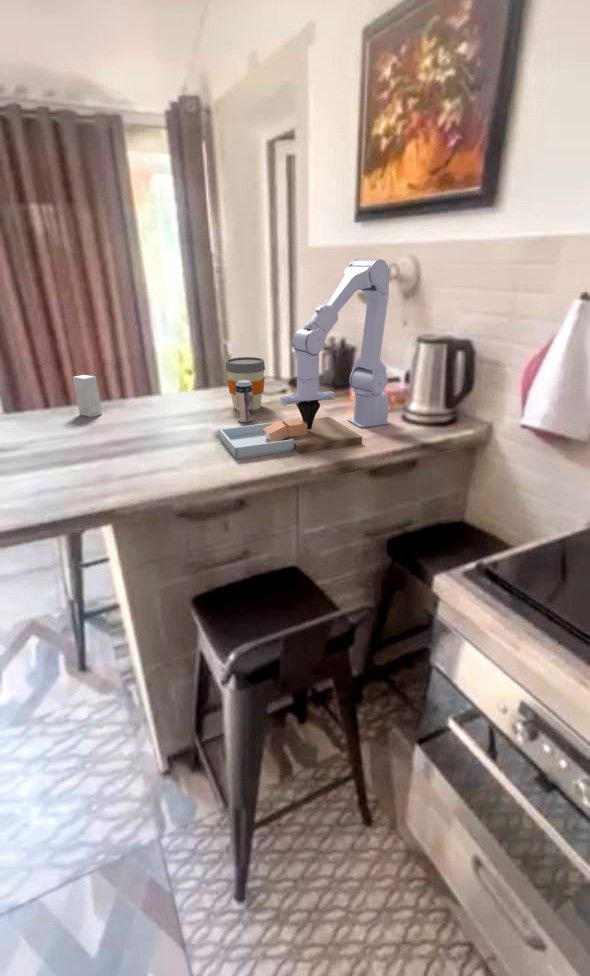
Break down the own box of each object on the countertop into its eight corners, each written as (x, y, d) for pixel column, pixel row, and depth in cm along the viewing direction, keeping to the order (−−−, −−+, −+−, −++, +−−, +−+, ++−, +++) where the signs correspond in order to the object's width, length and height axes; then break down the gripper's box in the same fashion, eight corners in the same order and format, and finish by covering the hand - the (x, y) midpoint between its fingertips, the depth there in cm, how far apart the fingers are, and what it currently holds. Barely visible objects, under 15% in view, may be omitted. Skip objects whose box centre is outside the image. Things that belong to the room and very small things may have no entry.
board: (329, 423, 151) (329, 416, 150) (361, 444, 134) (362, 436, 134) (271, 430, 145) (271, 423, 145) (298, 453, 128) (297, 446, 128)
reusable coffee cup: (265, 412, 163) (263, 364, 157) (225, 412, 163) (222, 364, 157) (267, 401, 174) (266, 356, 168) (230, 402, 174) (227, 357, 168)
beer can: (251, 423, 152) (249, 383, 147) (235, 422, 152) (233, 382, 148) (255, 419, 156) (253, 379, 151) (240, 418, 157) (238, 379, 152)
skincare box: (102, 414, 162) (96, 376, 157) (91, 417, 159) (84, 378, 154) (90, 411, 165) (83, 374, 160) (79, 414, 162) (71, 376, 157)
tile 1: (282, 430, 138) (279, 420, 137) (289, 435, 134) (285, 425, 133) (266, 438, 137) (262, 428, 136) (272, 444, 133) (268, 434, 132)
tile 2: (300, 428, 140) (300, 418, 139) (307, 434, 136) (307, 423, 135) (282, 431, 138) (282, 420, 137) (289, 436, 134) (289, 425, 133)
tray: (272, 432, 144) (272, 422, 142) (293, 451, 130) (293, 439, 129) (219, 439, 138) (218, 429, 137) (235, 459, 125) (235, 448, 124)
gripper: (326, 372, 138) (326, 421, 144) (276, 377, 133) (277, 427, 139) (338, 377, 132) (337, 428, 138) (285, 382, 127) (286, 435, 133)
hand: (307, 428), depth 138 cm, fingers closed
